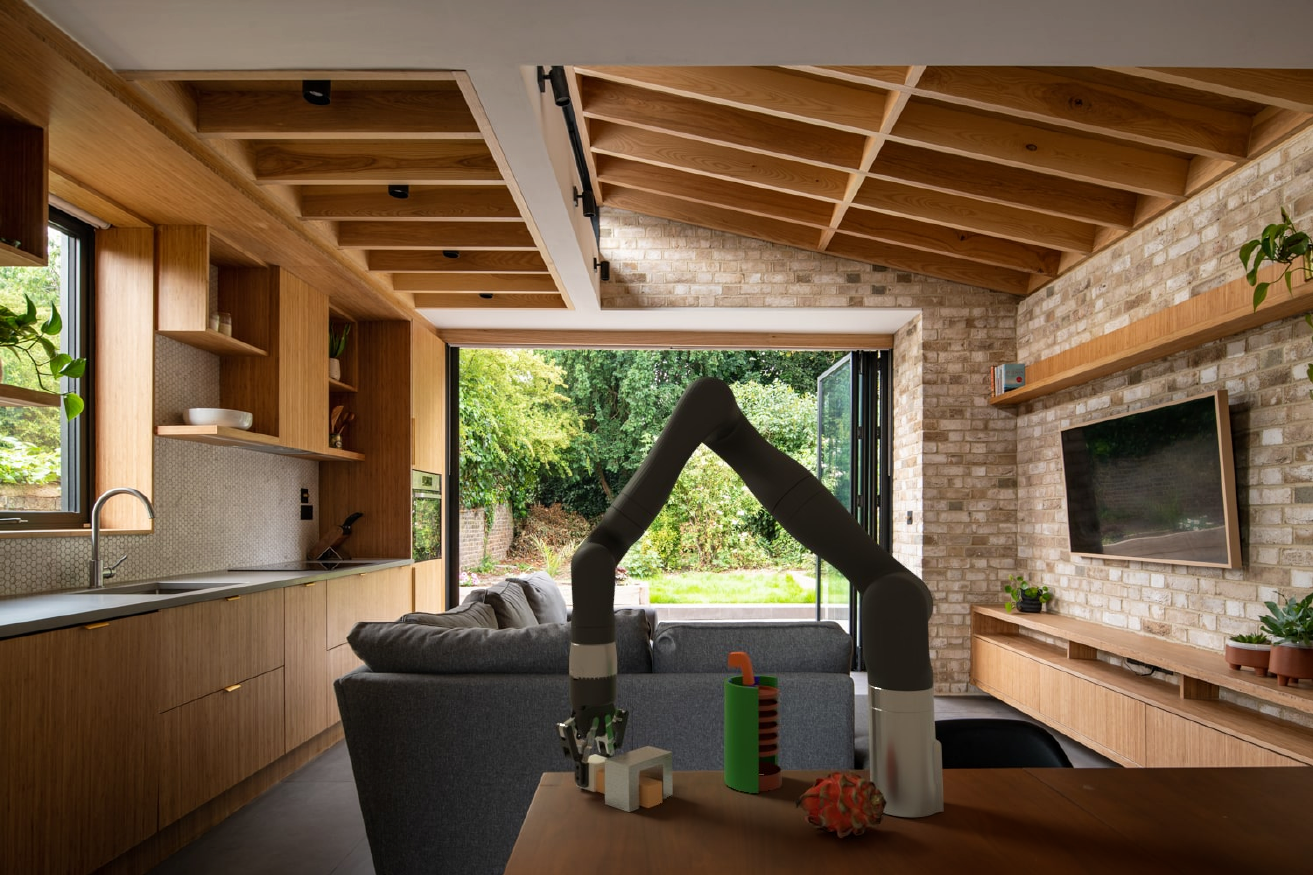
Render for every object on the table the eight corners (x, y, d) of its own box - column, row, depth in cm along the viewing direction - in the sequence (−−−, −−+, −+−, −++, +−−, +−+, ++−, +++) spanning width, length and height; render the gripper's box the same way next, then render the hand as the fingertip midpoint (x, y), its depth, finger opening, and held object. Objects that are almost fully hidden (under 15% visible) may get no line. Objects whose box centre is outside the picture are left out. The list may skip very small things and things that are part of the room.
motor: (779, 795, 128) (777, 659, 129) (720, 792, 129) (718, 658, 131) (783, 774, 138) (780, 648, 139) (728, 771, 139) (726, 647, 141)
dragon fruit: (895, 850, 111) (803, 858, 113) (884, 793, 118) (798, 801, 120) (889, 809, 107) (794, 818, 109) (878, 753, 114) (789, 762, 116)
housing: (672, 795, 128) (672, 751, 128) (629, 812, 121) (628, 765, 122) (648, 788, 131) (648, 745, 132) (604, 803, 125) (604, 758, 125)
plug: (664, 801, 125) (664, 773, 126) (645, 808, 122) (645, 780, 123) (595, 779, 136) (595, 754, 136) (576, 786, 133) (576, 759, 133)
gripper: (609, 661, 142) (609, 767, 141) (542, 674, 132) (542, 788, 130) (641, 667, 137) (642, 777, 136) (575, 681, 127) (575, 800, 125)
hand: (593, 782), depth 133 cm, fingers closed on plug, 4 cm apart
